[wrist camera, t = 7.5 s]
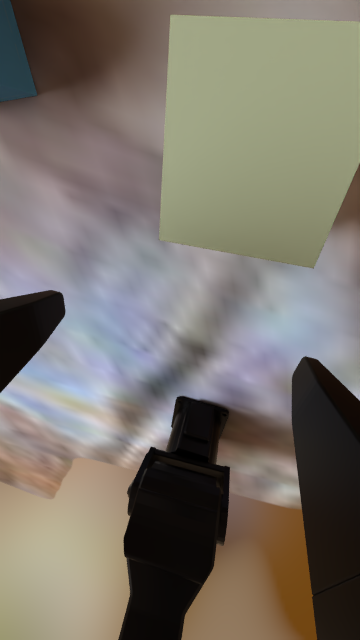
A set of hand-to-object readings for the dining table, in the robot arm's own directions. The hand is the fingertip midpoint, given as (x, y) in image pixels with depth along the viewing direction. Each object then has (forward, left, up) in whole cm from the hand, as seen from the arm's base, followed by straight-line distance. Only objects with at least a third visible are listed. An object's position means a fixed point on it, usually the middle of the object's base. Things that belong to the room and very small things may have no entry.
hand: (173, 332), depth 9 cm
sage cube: (+5, -1, -5) cm, 7 cm away
